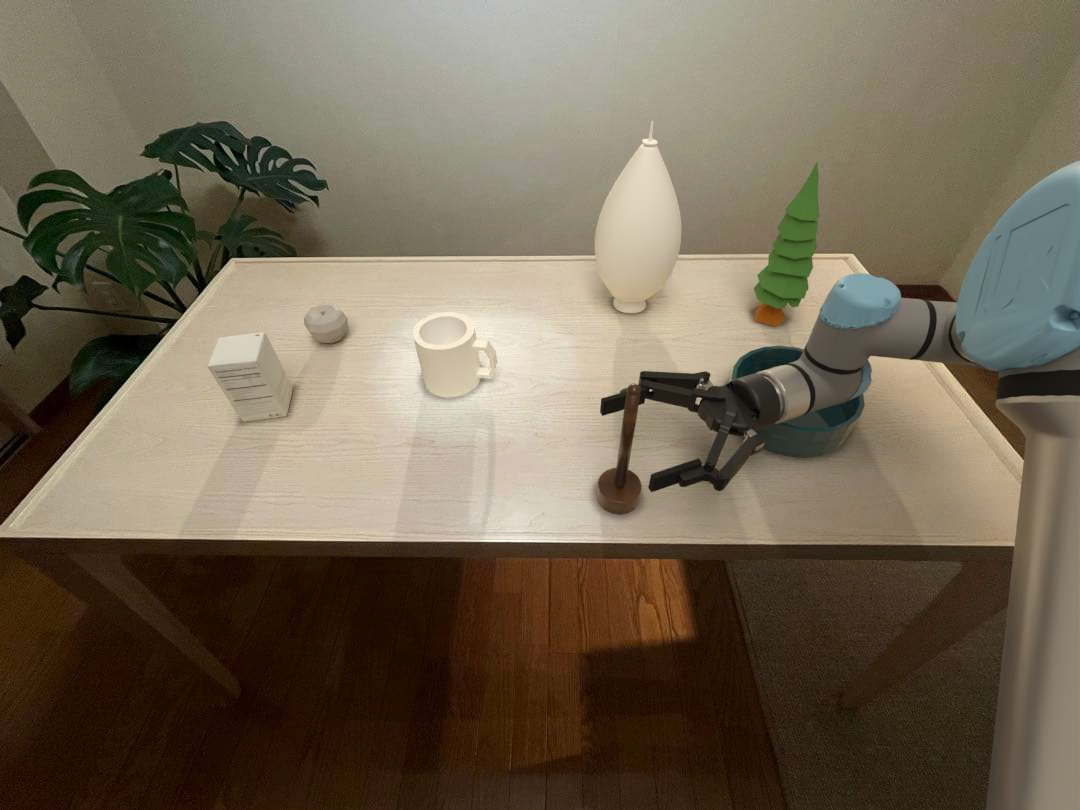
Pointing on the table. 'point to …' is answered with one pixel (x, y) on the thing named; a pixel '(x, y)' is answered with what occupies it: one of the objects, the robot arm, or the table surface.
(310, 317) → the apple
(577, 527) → the table surface
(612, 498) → the wooden peg stand
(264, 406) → the white packaging box
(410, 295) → the table surface
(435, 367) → the mug
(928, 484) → the table surface
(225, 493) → the table surface
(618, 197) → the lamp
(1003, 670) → the robot arm
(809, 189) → the decorative tree
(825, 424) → the bowl
